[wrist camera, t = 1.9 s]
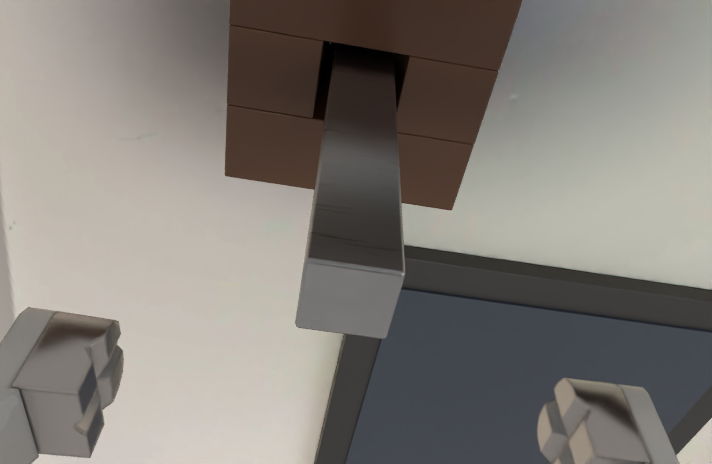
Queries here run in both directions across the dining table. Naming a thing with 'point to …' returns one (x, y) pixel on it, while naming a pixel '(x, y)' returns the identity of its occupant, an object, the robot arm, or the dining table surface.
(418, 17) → the brown block with hole
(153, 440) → the dining table surface
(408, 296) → the drawing tablet
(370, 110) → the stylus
